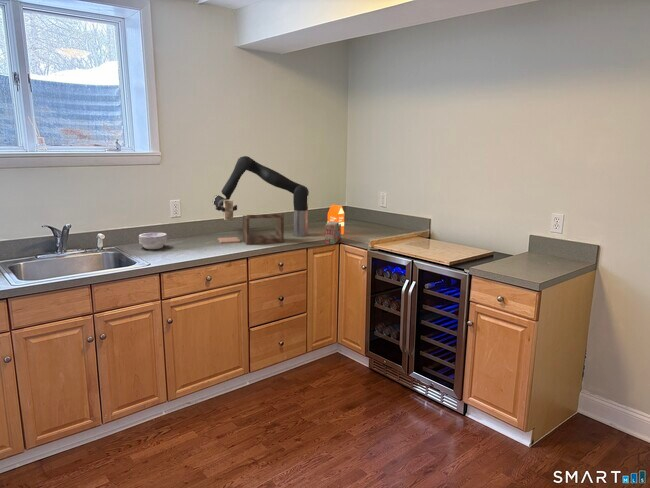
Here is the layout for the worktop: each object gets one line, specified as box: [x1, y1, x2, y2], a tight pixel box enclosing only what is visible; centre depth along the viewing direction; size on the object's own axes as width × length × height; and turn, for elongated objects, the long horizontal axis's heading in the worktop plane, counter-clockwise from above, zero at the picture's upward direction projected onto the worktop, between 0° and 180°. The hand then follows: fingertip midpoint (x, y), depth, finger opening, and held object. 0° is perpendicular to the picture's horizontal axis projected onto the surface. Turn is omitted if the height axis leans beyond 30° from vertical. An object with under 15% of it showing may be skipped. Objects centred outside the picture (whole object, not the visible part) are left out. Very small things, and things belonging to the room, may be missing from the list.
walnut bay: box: [242, 213, 285, 246], centre depth 302 cm, size 23×12×18 cm, turn 111°
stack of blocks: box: [324, 221, 342, 245], centre depth 313 cm, size 21×6×12 cm, turn 167°
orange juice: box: [326, 204, 345, 235], centre depth 333 cm, size 8×9×20 cm
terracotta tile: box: [217, 236, 241, 244], centre depth 304 cm, size 12×12×1 cm
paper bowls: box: [138, 232, 168, 250], centre depth 280 cm, size 15×15×8 cm
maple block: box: [223, 199, 234, 221], centre depth 300 cm, size 5×5×12 cm
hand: (229, 209), depth 298 cm, fingers closed on maple block, 5 cm apart
